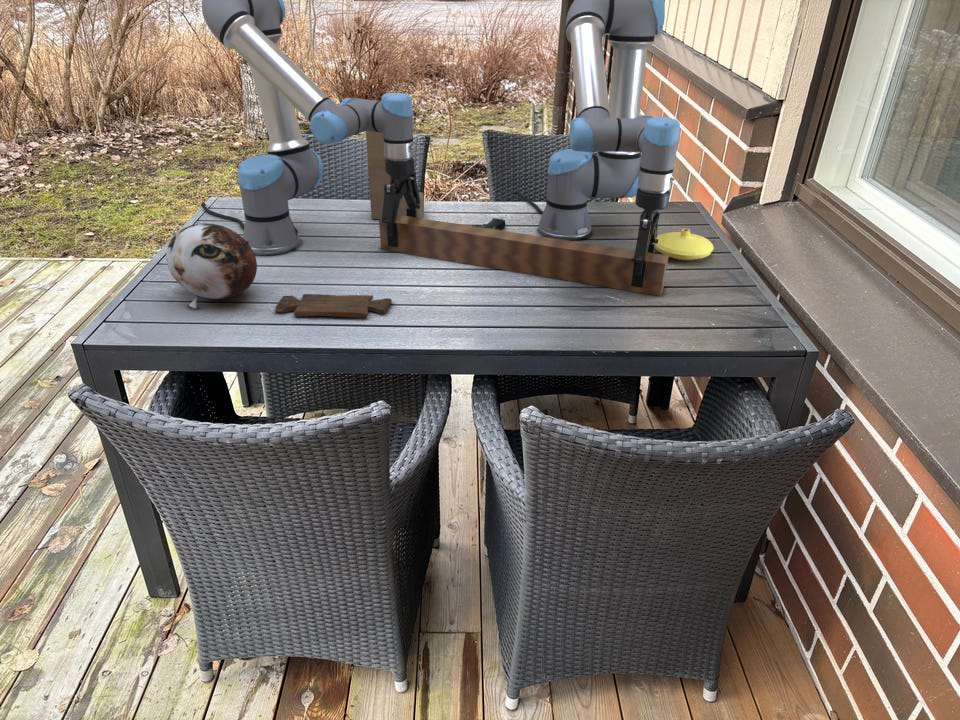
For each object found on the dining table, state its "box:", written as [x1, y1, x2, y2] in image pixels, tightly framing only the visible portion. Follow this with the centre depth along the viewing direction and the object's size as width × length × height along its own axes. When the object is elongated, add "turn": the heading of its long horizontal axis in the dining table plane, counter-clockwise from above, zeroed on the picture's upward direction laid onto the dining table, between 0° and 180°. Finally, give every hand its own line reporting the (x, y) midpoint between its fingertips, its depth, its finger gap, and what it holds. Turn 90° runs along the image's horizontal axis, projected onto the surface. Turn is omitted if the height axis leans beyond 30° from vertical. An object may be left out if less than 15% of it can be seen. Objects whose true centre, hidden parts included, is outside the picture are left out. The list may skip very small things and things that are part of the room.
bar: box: [378, 215, 670, 297], centre depth 184 cm, size 76×6×8 cm, turn 69°
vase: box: [653, 228, 715, 261], centre depth 193 cm, size 16×16×7 cm
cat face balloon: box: [165, 222, 258, 309], centre depth 165 cm, size 22×18×20 cm
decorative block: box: [365, 131, 425, 220], centre depth 210 cm, size 8×15×30 cm, turn 82°
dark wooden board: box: [275, 293, 392, 318], centre depth 164 cm, size 26×2×10 cm
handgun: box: [471, 217, 506, 231], centre depth 207 cm, size 16×3×15 cm
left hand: (402, 238), depth 195 cm, fingers open, 11 cm apart
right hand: (641, 277), depth 175 cm, fingers open, 11 cm apart
